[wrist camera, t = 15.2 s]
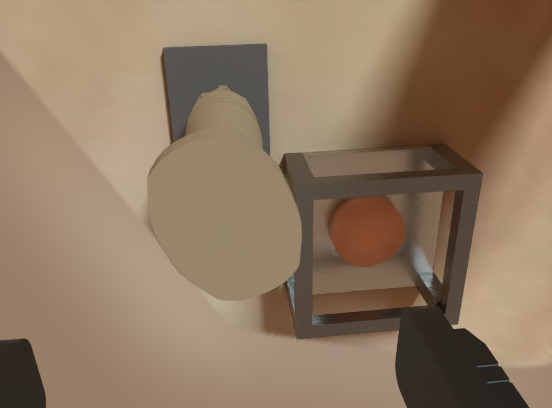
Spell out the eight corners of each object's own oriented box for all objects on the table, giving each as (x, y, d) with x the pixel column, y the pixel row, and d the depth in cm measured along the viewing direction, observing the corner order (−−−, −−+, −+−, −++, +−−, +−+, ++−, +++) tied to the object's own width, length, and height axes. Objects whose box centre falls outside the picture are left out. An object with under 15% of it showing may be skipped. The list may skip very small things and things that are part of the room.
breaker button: (329, 196, 34) (334, 204, 33) (401, 191, 35) (408, 199, 33) (328, 259, 36) (332, 269, 35) (395, 253, 37) (402, 263, 36)
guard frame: (284, 153, 33) (296, 185, 28) (445, 144, 34) (482, 173, 29) (286, 292, 38) (297, 339, 33) (428, 280, 39) (457, 324, 34)
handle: (209, 170, 32) (205, 317, 19) (161, 77, 30) (116, 174, 16) (278, 140, 32) (323, 269, 19) (236, 44, 29) (254, 114, 16)
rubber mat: (163, 47, 30) (162, 49, 29) (265, 43, 30) (266, 45, 30) (176, 160, 33) (176, 163, 32) (269, 154, 33) (270, 157, 33)
